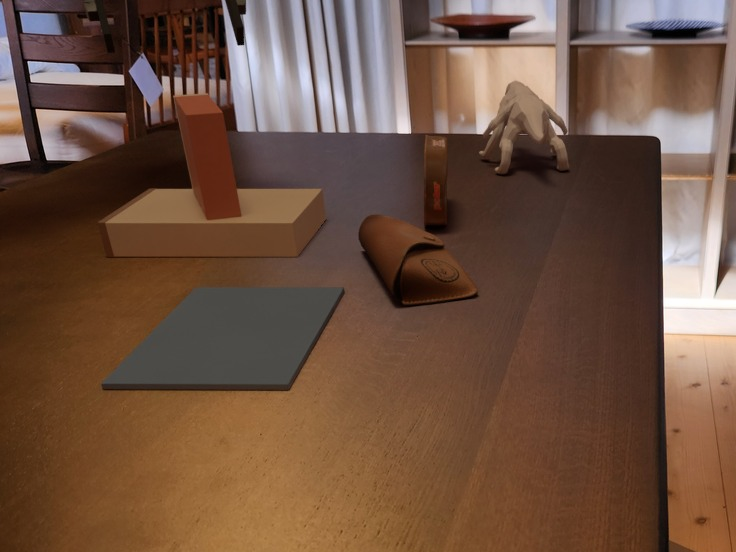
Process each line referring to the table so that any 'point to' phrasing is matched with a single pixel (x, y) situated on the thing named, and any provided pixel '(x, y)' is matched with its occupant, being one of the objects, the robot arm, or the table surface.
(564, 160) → the beige creature figurine
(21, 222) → the table surface
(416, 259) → the sunglasses case
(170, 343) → the mat
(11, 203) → the table surface
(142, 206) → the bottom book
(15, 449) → the table surface
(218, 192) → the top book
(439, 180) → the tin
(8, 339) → the table surface
